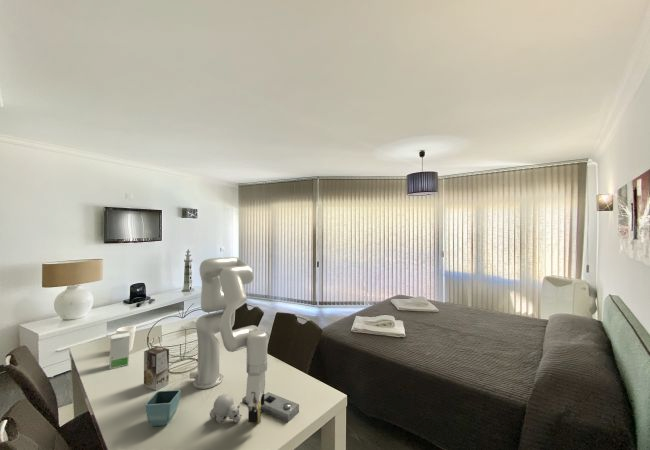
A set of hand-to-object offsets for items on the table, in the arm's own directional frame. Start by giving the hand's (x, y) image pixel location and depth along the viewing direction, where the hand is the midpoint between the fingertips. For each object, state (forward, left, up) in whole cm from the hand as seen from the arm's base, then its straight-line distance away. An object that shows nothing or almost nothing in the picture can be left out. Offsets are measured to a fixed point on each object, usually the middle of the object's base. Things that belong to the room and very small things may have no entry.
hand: (256, 412), depth 101 cm
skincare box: (-85, +43, -4) cm, 95 cm away
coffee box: (-53, +24, -4) cm, 58 cm away
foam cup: (-95, +61, -4) cm, 113 cm away
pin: (0, 0, -3) cm, 3 cm away
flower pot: (-35, 0, -4) cm, 35 cm away
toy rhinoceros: (-12, +1, -4) cm, 12 cm away
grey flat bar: (+3, +9, -3) cm, 10 cm away
